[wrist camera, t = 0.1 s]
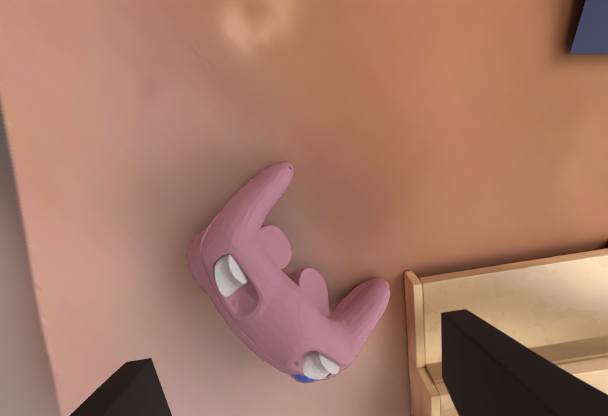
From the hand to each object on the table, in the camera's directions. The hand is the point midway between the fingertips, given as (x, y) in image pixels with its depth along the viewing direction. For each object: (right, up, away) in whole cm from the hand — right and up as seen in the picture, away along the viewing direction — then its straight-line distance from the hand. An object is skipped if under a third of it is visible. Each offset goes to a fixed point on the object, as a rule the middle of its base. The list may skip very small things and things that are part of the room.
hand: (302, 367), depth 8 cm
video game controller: (0, +2, +10) cm, 10 cm away
